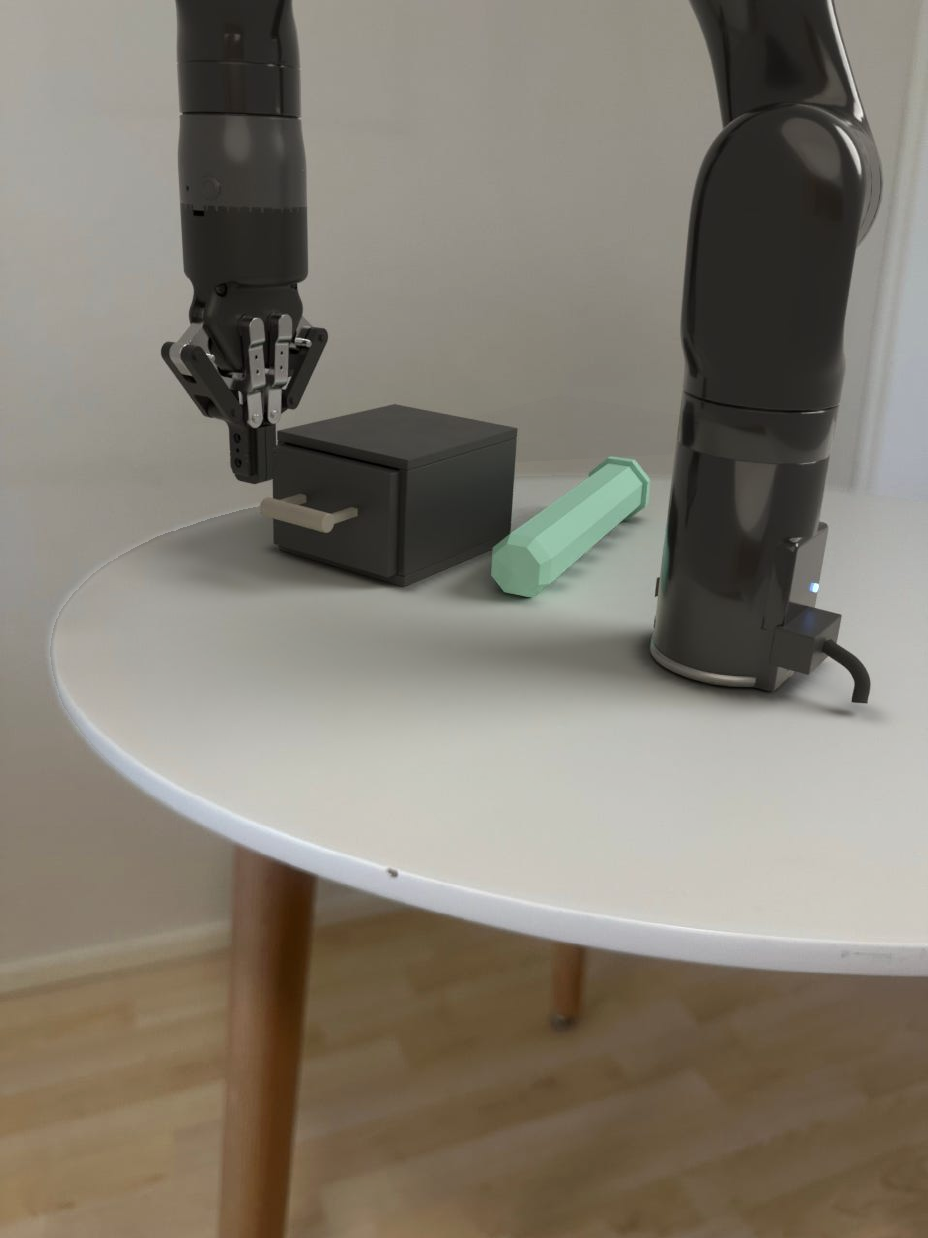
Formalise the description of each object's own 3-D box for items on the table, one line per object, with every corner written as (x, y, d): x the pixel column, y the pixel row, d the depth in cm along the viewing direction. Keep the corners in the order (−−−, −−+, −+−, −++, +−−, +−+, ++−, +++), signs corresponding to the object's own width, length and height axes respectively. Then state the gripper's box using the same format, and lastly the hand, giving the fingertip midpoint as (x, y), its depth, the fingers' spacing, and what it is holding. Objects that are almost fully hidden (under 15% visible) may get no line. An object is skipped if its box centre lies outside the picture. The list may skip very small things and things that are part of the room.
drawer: (350, 593, 81) (352, 485, 78) (234, 557, 87) (231, 455, 84) (489, 535, 95) (495, 442, 92) (381, 507, 100) (383, 419, 98)
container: (536, 524, 80) (641, 447, 101) (464, 541, 83) (580, 463, 104) (561, 603, 82) (659, 511, 103) (489, 617, 85) (599, 525, 106)
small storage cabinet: (404, 587, 85) (407, 460, 82) (278, 549, 92) (276, 430, 88) (510, 541, 96) (518, 427, 93) (391, 510, 103) (394, 403, 99)
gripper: (273, 195, 76) (280, 453, 83) (114, 196, 66) (136, 490, 72) (362, 201, 72) (362, 471, 79) (207, 202, 62) (222, 512, 68)
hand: (254, 480), depth 75 cm, fingers closed
